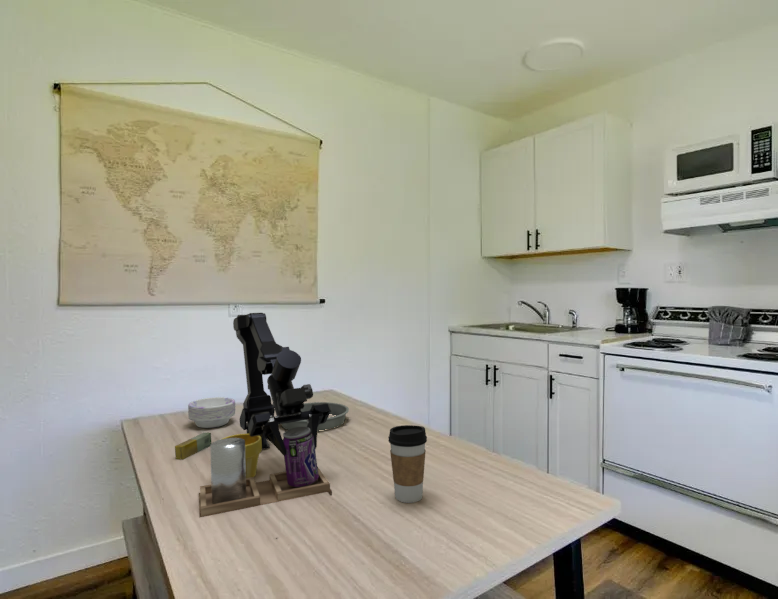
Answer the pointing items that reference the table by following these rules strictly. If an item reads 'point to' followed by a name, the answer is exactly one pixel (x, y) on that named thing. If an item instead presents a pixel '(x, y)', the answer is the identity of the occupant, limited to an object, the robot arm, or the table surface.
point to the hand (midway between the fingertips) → (300, 451)
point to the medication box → (192, 446)
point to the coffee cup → (408, 461)
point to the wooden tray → (261, 493)
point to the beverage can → (300, 457)
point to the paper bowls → (211, 411)
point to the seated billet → (228, 470)
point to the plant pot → (250, 452)
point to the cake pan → (330, 422)
